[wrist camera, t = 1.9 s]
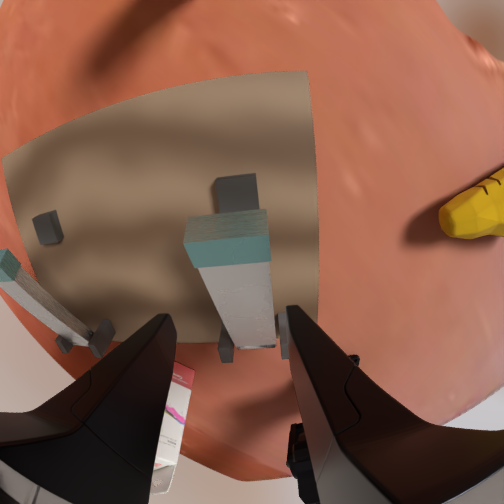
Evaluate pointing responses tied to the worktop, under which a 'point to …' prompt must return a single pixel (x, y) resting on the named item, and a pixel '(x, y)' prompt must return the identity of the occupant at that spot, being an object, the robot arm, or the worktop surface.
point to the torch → (476, 210)
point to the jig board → (169, 203)
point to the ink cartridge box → (172, 428)
